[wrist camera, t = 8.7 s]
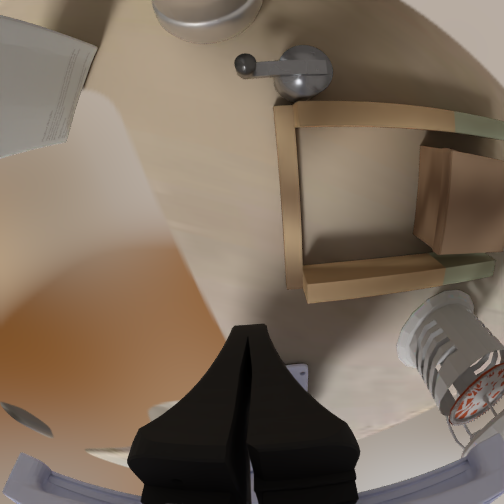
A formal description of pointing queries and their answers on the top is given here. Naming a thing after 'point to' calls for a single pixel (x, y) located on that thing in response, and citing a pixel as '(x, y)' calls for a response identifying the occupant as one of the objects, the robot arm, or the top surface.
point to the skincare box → (38, 84)
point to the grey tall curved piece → (455, 361)
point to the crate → (459, 202)
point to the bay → (379, 269)
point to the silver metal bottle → (206, 18)
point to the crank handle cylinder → (291, 72)
